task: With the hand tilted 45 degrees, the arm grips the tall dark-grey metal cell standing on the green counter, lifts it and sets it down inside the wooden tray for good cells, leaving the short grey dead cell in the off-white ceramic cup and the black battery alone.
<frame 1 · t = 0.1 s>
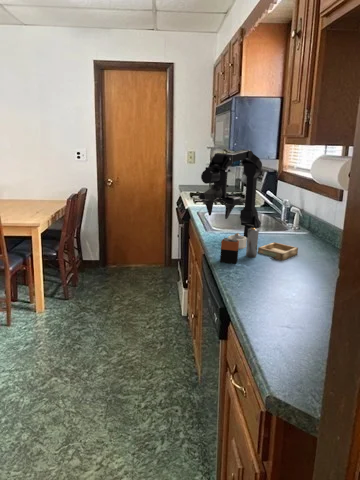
hand: (217, 217, 182), 15 cm above the worktop, tool pointing down, fingers open, 9 cm apart
wooden tray: (277, 254, 181), on the worktop
dead cell: (236, 246, 188), point 1 cm above the worktop, touching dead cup
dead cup: (236, 247, 189), on the worktop
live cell: (250, 257, 174), on the worktop
battery: (228, 262, 168), on the worktop
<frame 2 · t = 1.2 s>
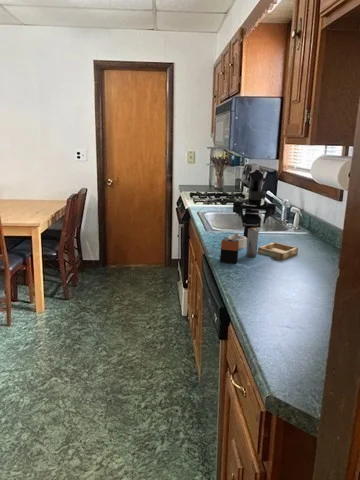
hand: (253, 223, 178), 13 cm above the worktop, tool tilted 45°, fingers open, 9 cm apart
nothing on the worktop moved.
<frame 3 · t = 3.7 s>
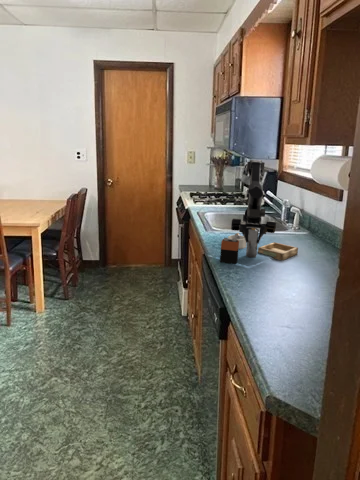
hand: (252, 242, 171), 7 cm above the worktop, tool tilted 45°, fingers closed on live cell, 4 cm apart
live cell: (250, 257, 174), on the worktop, touching gripper
everything else where it was.
when the fingers open (9 cm above the worktop, at t = 6.9 s): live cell drops 1 cm, resting on wooden tray.
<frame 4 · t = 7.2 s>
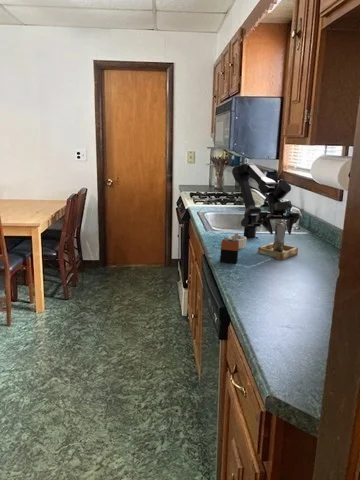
hand: (281, 234, 177), 10 cm above the worktop, tool tilted 45°, fingers open, 8 cm apart
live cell: (277, 251, 181), point 1 cm above the worktop, touching wooden tray
everything else where it was.
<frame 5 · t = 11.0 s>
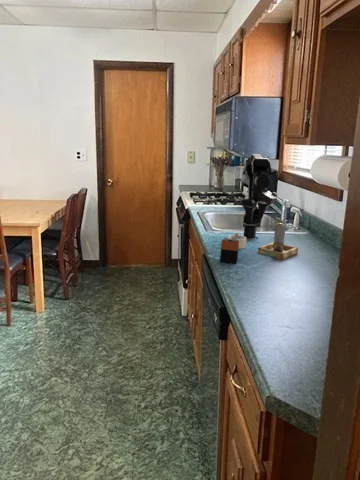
hand: (255, 219, 188), 13 cm above the worktop, tool pointing down, fingers open, 9 cm apart
nothing on the worktop moved.
at the end: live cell inside the target area on the wooden tray (0.1 cm from its centre), point 1.0 cm above the wooden tray's base; the gripper is holding nothing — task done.
